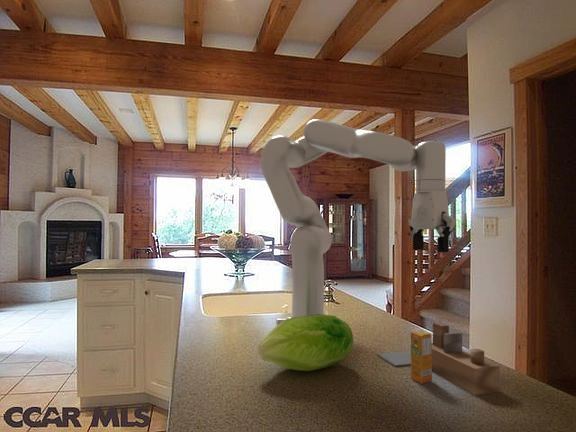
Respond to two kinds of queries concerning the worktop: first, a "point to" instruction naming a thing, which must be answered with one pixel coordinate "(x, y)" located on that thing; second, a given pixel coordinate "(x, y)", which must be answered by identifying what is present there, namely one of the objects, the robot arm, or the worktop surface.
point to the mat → (397, 358)
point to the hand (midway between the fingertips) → (430, 250)
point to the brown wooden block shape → (462, 363)
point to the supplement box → (421, 356)
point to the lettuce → (307, 342)
